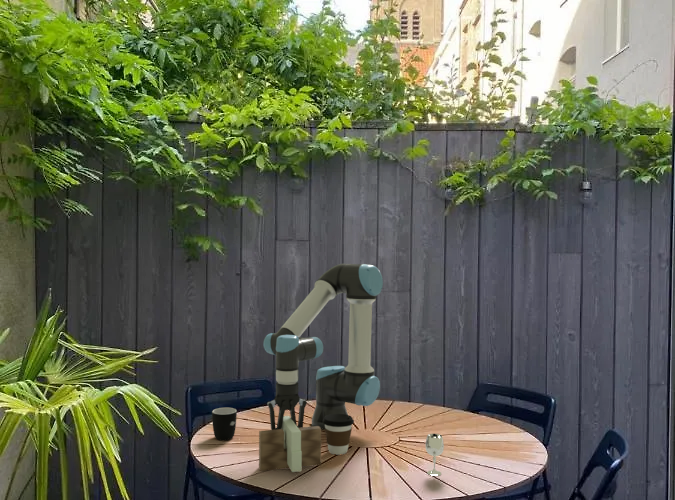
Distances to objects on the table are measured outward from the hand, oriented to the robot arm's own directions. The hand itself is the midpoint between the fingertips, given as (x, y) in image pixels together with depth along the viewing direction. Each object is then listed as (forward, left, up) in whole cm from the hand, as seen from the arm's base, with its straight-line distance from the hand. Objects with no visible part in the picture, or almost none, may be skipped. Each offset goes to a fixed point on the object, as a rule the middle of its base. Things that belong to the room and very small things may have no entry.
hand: (286, 451), depth 205 cm
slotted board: (0, +5, -3) cm, 6 cm away
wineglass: (-43, +23, -3) cm, 49 cm away
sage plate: (0, +5, -1) cm, 6 cm away
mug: (+17, -31, -3) cm, 35 cm away
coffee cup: (-19, -4, -3) cm, 20 cm away
